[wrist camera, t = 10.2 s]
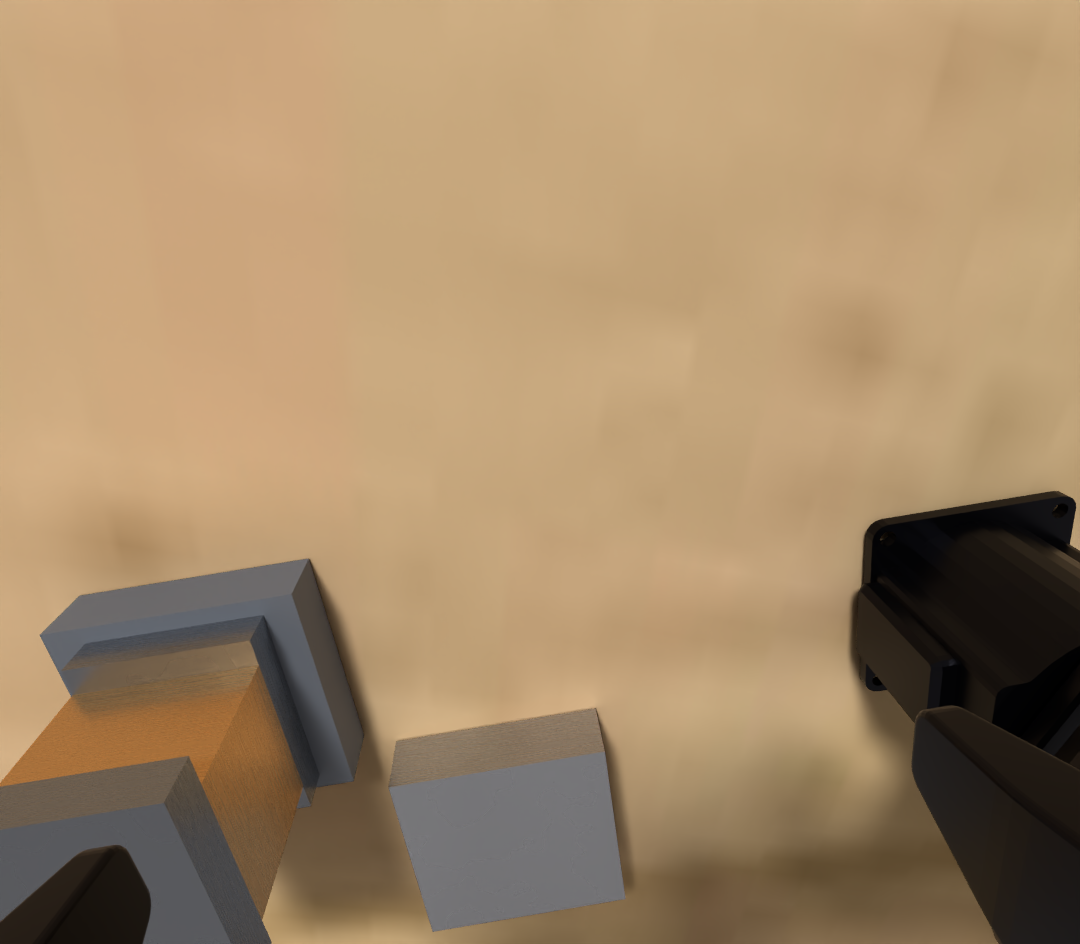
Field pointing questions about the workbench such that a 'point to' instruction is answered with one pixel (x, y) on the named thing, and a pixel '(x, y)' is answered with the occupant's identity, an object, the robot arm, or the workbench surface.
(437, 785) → the stand
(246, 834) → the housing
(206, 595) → the stand
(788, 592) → the workbench surface
